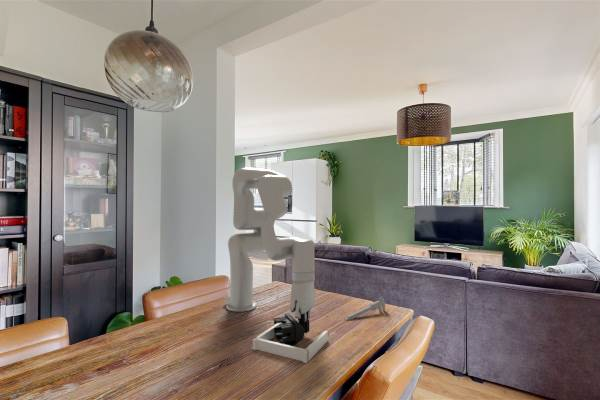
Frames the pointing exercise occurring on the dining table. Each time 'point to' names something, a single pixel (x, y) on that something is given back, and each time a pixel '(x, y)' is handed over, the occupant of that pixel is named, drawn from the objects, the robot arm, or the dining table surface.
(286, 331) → the end cap
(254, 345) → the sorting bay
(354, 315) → the caliper
